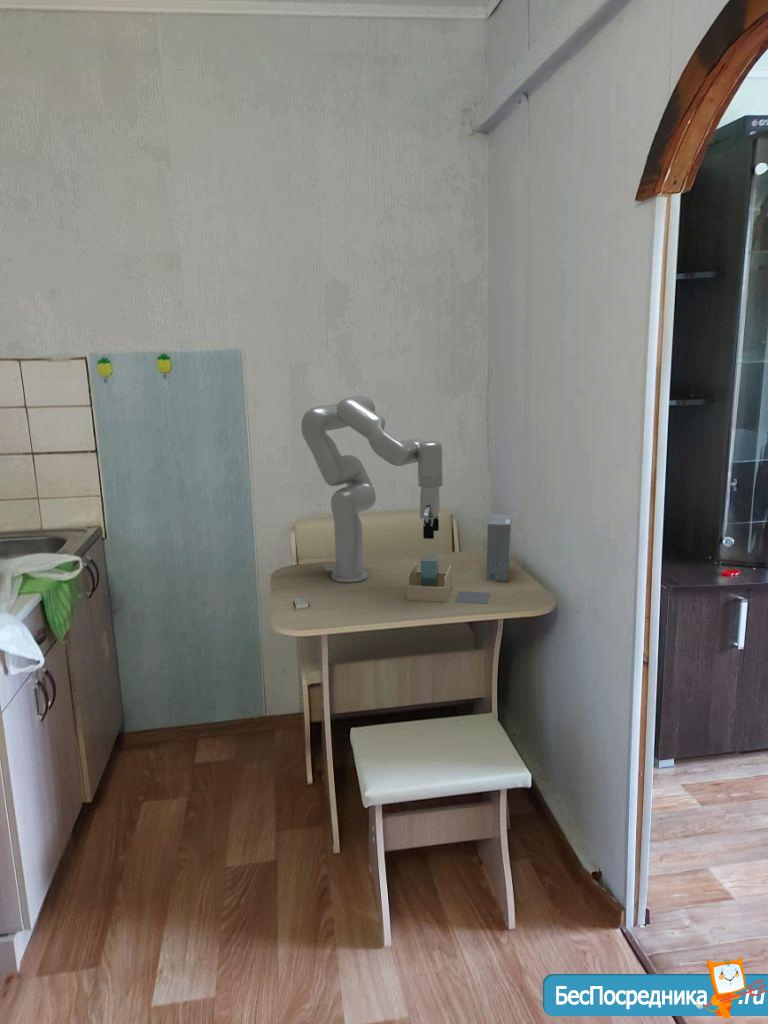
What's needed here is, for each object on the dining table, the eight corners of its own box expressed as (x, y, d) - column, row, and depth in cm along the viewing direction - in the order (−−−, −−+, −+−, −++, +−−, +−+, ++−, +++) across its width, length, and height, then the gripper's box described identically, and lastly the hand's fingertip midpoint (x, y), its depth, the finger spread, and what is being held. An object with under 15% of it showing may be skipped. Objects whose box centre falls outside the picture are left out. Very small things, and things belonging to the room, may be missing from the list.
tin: (420, 594, 241) (420, 558, 238) (423, 589, 245) (423, 553, 243) (436, 595, 239) (436, 559, 237) (439, 590, 244) (439, 554, 242)
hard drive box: (508, 582, 253) (510, 524, 248) (485, 581, 254) (486, 524, 250) (510, 568, 268) (511, 514, 263) (488, 567, 269) (489, 513, 265)
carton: (406, 600, 237) (406, 576, 235) (415, 585, 251) (415, 562, 249) (445, 603, 234) (445, 578, 232) (452, 587, 248) (452, 564, 247)
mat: (454, 603, 234) (455, 601, 234) (459, 592, 243) (459, 591, 243) (487, 605, 232) (487, 603, 232) (490, 594, 241) (490, 592, 241)
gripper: (423, 476, 243) (424, 527, 247) (413, 486, 227) (414, 541, 230) (446, 476, 241) (446, 528, 245) (438, 486, 225) (438, 542, 229)
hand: (431, 534), depth 238 cm, fingers open, 9 cm apart
